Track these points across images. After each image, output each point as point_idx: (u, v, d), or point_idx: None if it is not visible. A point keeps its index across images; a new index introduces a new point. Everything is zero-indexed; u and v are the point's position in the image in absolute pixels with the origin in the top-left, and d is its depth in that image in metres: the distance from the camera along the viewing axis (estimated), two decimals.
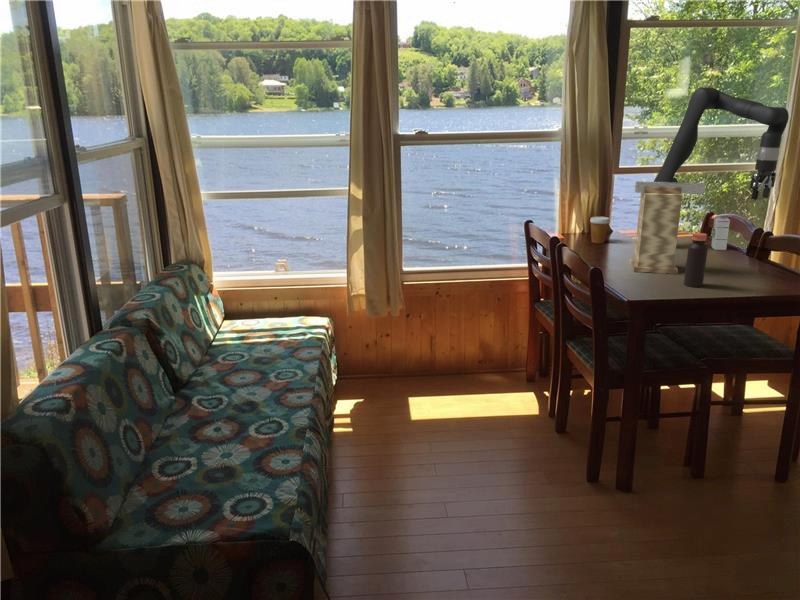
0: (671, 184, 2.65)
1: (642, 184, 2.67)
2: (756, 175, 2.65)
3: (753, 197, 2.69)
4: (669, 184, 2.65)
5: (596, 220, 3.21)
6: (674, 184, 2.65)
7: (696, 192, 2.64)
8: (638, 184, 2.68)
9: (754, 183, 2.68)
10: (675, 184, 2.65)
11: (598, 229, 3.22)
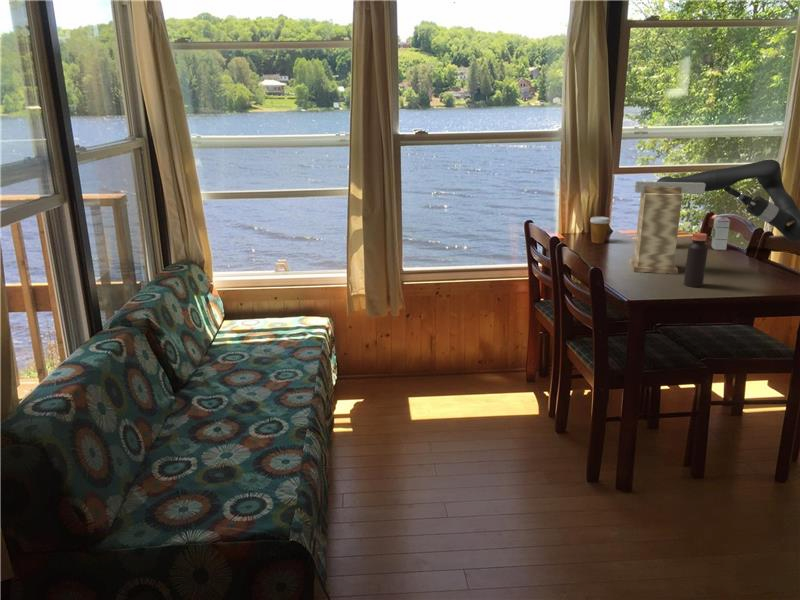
0: (671, 184, 2.65)
1: (642, 184, 2.67)
2: (753, 205, 2.61)
3: (733, 192, 2.63)
4: (669, 184, 2.65)
5: (596, 220, 3.21)
6: (674, 184, 2.65)
7: (696, 192, 2.64)
8: (638, 184, 2.68)
9: (746, 195, 2.63)
10: (675, 184, 2.65)
11: (598, 229, 3.22)
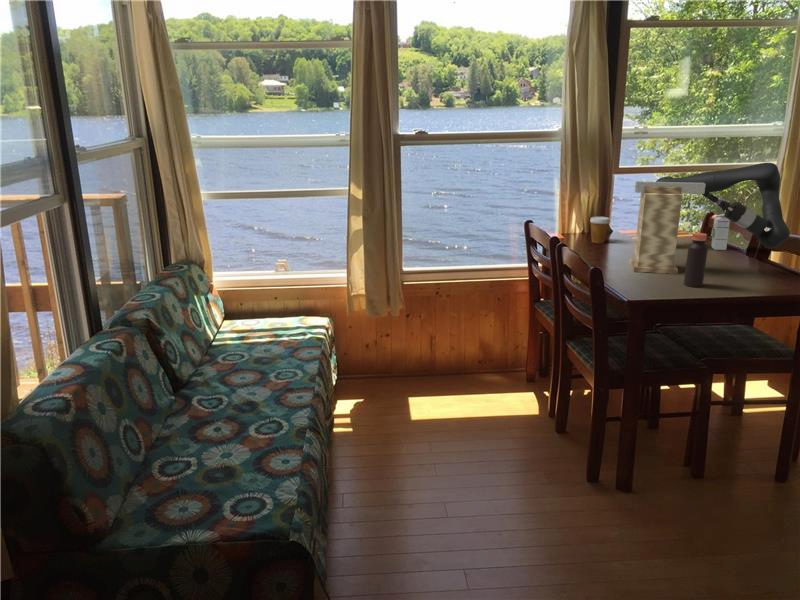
0: (671, 184, 2.65)
1: (642, 184, 2.67)
2: (730, 210, 2.59)
3: (710, 197, 2.61)
4: (669, 184, 2.65)
5: (596, 220, 3.21)
6: (674, 184, 2.65)
7: (696, 192, 2.64)
8: (638, 184, 2.68)
9: (724, 201, 2.61)
10: (675, 184, 2.65)
11: (598, 229, 3.22)
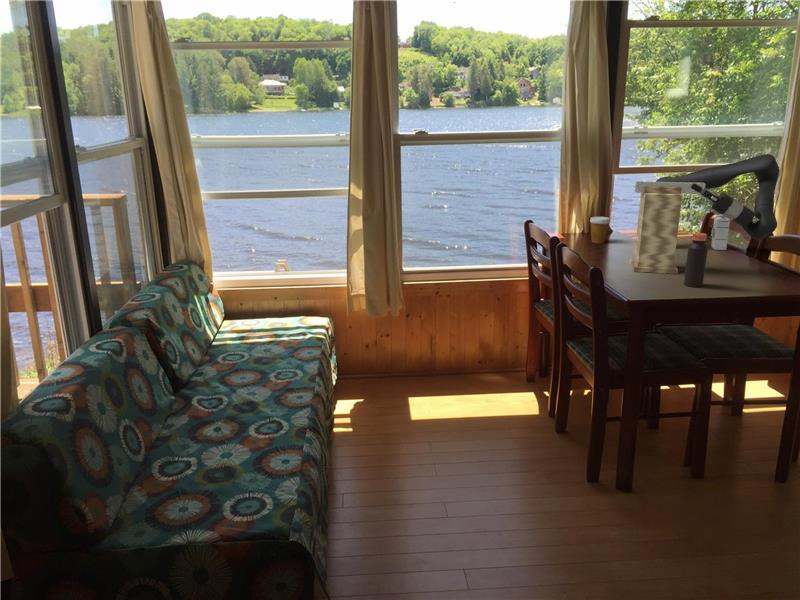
0: (671, 184, 2.65)
1: (642, 184, 2.67)
2: (714, 200, 2.59)
3: (694, 186, 2.63)
4: (669, 184, 2.65)
5: (596, 220, 3.21)
6: (674, 184, 2.65)
7: (696, 192, 2.64)
8: (638, 184, 2.68)
9: (708, 191, 2.62)
10: (675, 184, 2.65)
11: (598, 229, 3.22)
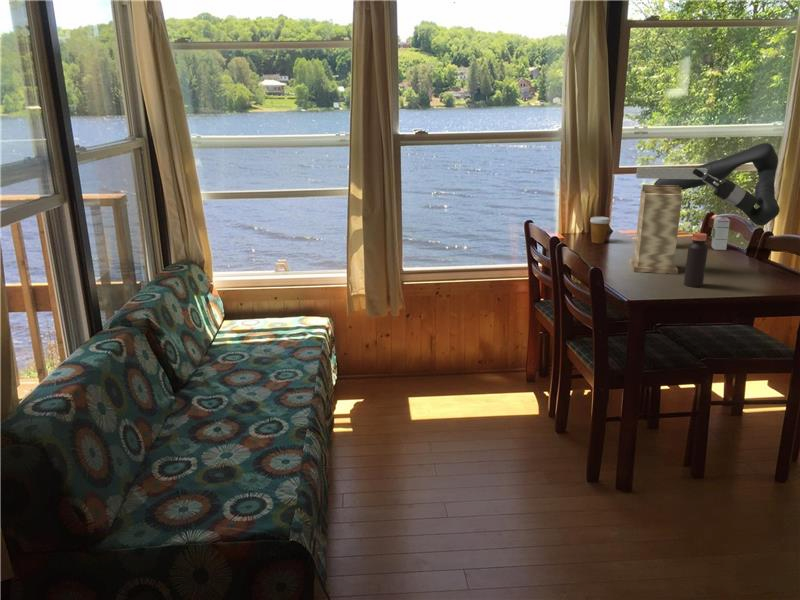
0: (673, 169, 2.63)
1: (643, 170, 2.66)
2: (716, 185, 2.58)
3: (696, 172, 2.61)
4: (671, 169, 2.64)
5: (596, 220, 3.21)
6: (676, 169, 2.63)
7: (698, 177, 2.62)
8: (639, 170, 2.66)
9: (710, 176, 2.61)
10: (677, 169, 2.63)
11: (598, 229, 3.22)
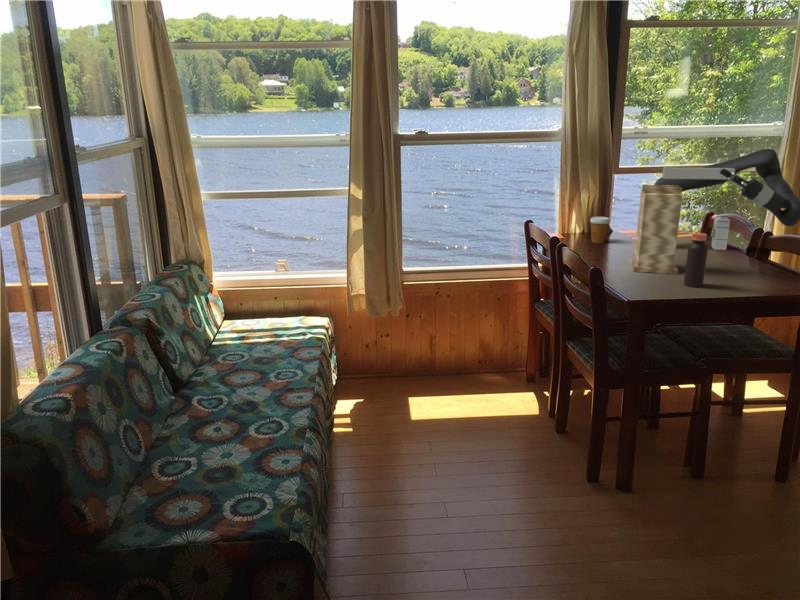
0: (700, 170, 2.61)
1: (670, 170, 2.64)
2: (744, 185, 2.56)
3: (724, 172, 2.59)
4: (698, 170, 2.62)
5: (596, 220, 3.21)
6: (703, 170, 2.61)
7: (725, 177, 2.60)
8: (666, 170, 2.64)
9: (738, 176, 2.59)
10: (704, 170, 2.61)
11: (598, 229, 3.22)
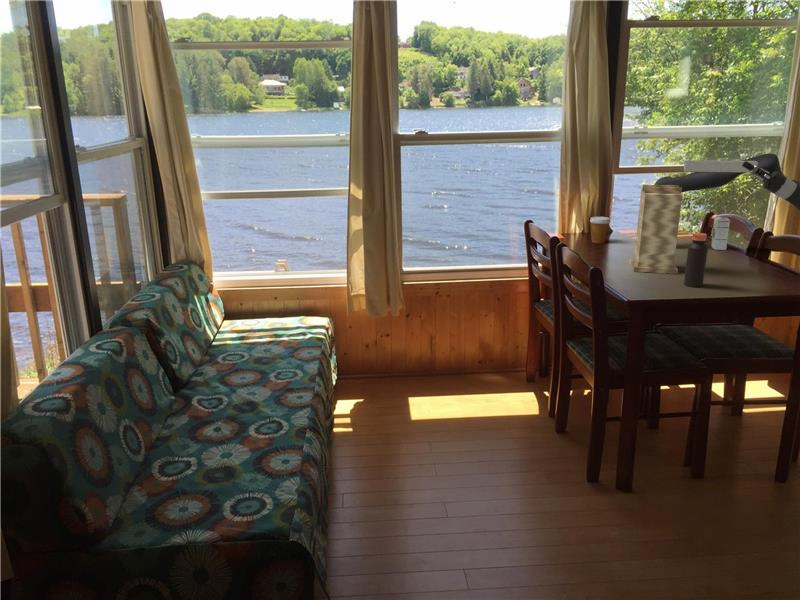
0: (722, 162, 2.59)
1: (692, 163, 2.61)
2: (767, 178, 2.53)
3: (746, 164, 2.57)
4: (720, 162, 2.59)
5: (596, 220, 3.21)
6: (725, 162, 2.59)
7: (748, 170, 2.58)
8: (688, 163, 2.62)
9: (760, 169, 2.56)
10: (726, 162, 2.59)
11: (598, 229, 3.22)
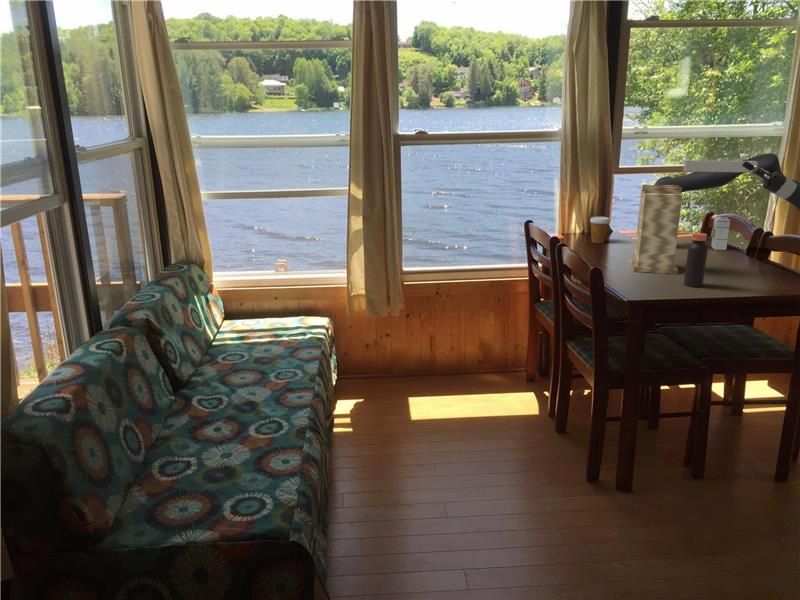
0: (722, 162, 2.59)
1: (692, 163, 2.61)
2: (767, 178, 2.53)
3: (746, 164, 2.57)
4: (720, 162, 2.59)
5: (596, 220, 3.21)
6: (725, 162, 2.59)
7: (748, 170, 2.58)
8: (688, 163, 2.62)
9: (760, 169, 2.56)
10: (726, 162, 2.59)
11: (598, 229, 3.22)
